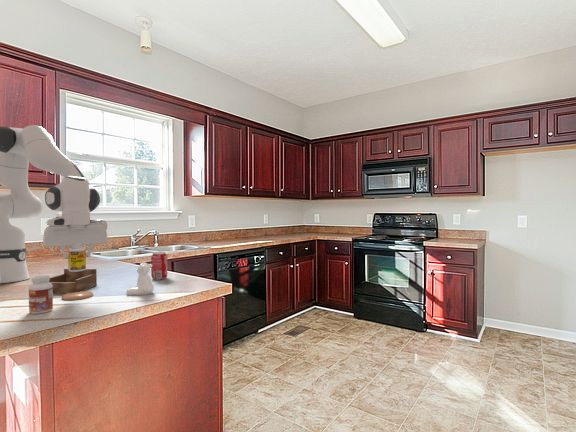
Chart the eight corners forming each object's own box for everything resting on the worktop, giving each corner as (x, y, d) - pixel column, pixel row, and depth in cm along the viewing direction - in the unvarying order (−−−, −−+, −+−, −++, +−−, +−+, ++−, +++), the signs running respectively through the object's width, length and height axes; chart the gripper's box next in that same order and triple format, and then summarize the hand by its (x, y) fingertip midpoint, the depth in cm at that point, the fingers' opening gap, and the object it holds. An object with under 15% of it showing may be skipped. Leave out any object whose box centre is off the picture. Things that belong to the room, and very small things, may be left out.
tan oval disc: (55, 300, 124) (55, 298, 124) (73, 293, 134) (73, 291, 134) (82, 300, 123) (82, 298, 123) (98, 293, 133) (98, 291, 133)
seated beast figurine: (144, 289, 140) (144, 260, 139) (161, 291, 136) (160, 261, 136) (125, 295, 131) (124, 263, 131) (142, 297, 128) (142, 264, 127)
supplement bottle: (68, 272, 124) (68, 244, 124) (68, 270, 129) (67, 242, 129) (86, 271, 127) (86, 243, 127) (85, 268, 132) (85, 242, 132)
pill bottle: (24, 314, 107) (24, 279, 106) (35, 309, 113) (34, 275, 113) (47, 313, 108) (46, 278, 108) (56, 308, 114) (55, 274, 114)
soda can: (164, 276, 166) (163, 251, 165) (169, 278, 160) (169, 253, 160) (149, 278, 161) (148, 252, 161) (154, 281, 156) (154, 254, 155)
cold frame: (41, 292, 134) (41, 274, 134) (65, 285, 148) (65, 268, 148) (75, 293, 134) (75, 275, 134) (96, 285, 147) (96, 268, 147)
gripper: (104, 219, 137) (105, 254, 137) (41, 220, 123) (42, 259, 124) (109, 219, 132) (110, 255, 133) (44, 221, 119) (45, 261, 119)
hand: (77, 257), depth 128 cm, fingers closed on supplement bottle, 6 cm apart
